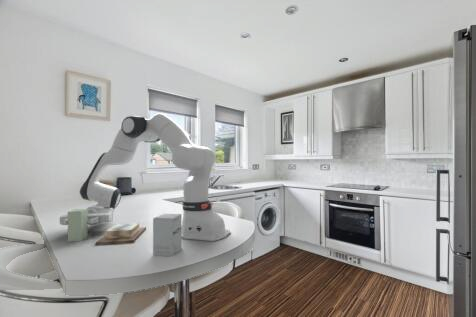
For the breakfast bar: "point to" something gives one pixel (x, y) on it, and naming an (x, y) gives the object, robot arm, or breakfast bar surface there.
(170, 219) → the supplement box
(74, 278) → the breakfast bar surface
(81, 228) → the column block
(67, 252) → the breakfast bar surface
